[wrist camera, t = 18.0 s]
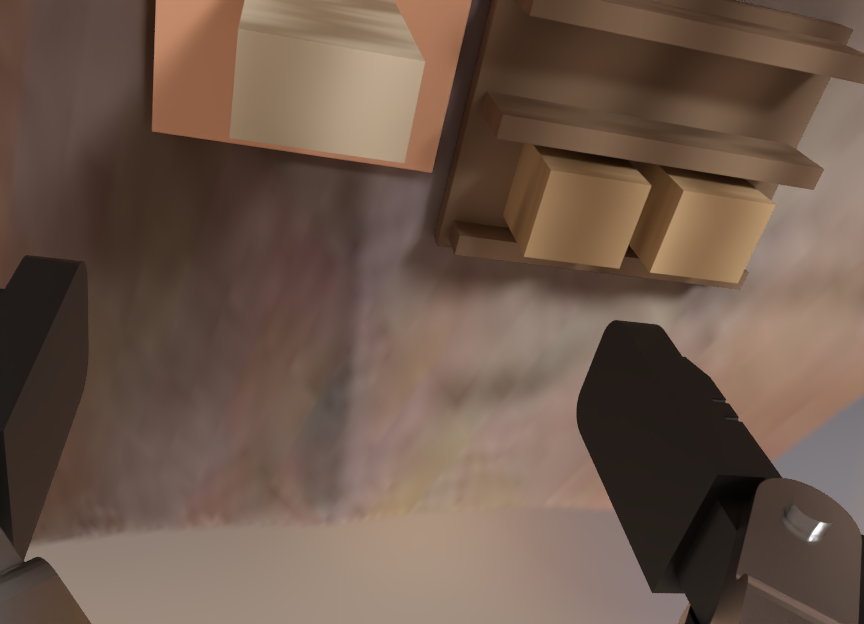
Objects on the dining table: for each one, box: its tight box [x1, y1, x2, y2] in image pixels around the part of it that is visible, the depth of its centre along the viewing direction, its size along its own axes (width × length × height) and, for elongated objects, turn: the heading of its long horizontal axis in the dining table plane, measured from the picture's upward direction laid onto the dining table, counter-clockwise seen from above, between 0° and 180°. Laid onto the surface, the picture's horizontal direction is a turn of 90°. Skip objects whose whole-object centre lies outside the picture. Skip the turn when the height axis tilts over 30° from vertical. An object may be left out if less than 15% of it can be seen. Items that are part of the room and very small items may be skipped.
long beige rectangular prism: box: [230, 0, 425, 163], centre depth 26 cm, size 5×3×11 cm, turn 78°
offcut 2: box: [629, 163, 776, 283], centre depth 36 cm, size 4×4×4 cm
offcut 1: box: [503, 143, 652, 269], centre depth 35 cm, size 4×4×4 cm
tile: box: [152, 0, 472, 173], centre depth 31 cm, size 12×12×1 cm
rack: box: [434, 0, 864, 290], centre depth 35 cm, size 16×13×4 cm
